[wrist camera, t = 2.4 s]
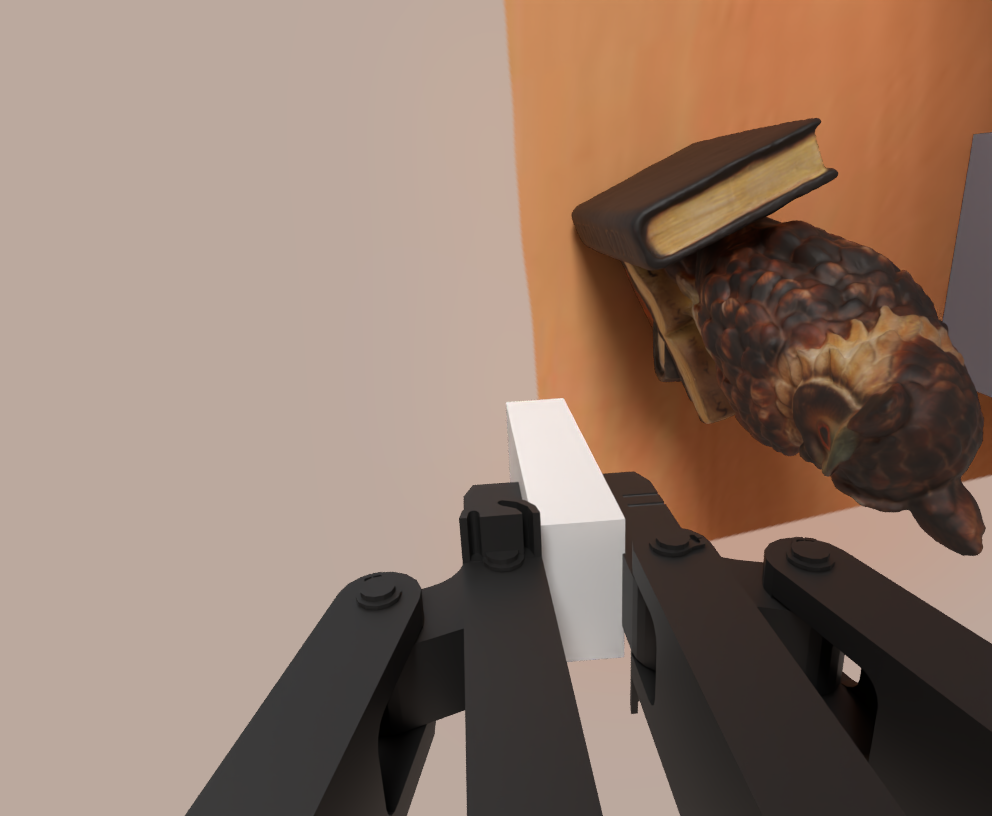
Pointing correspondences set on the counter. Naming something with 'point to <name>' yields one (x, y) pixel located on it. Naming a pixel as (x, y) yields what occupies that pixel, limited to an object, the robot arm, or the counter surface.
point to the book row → (974, 270)
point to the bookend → (796, 325)
